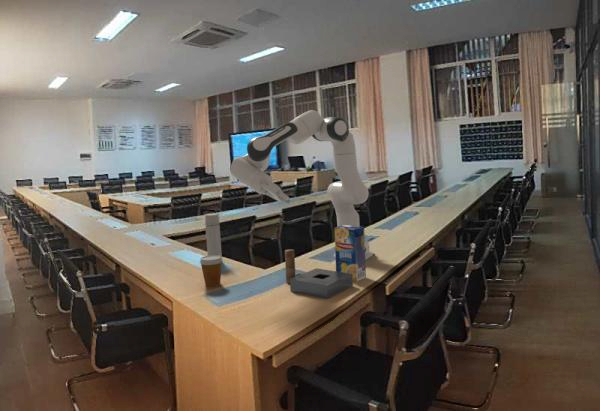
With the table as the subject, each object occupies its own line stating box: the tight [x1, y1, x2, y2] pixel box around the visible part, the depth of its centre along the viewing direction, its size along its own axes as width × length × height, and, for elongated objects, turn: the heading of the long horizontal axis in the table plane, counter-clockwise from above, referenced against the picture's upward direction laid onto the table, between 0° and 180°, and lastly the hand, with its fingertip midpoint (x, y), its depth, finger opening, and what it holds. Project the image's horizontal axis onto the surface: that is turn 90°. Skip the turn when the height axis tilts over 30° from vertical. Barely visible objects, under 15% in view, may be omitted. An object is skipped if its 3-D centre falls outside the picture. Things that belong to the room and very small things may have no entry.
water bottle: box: [203, 213, 223, 259], centre depth 231 cm, size 9×8×25 cm
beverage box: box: [334, 225, 367, 282], centre depth 192 cm, size 7×11×22 cm, turn 46°
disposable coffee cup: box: [199, 255, 223, 288], centre depth 191 cm, size 10×10×12 cm
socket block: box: [289, 267, 354, 300], centre depth 179 cm, size 18×18×5 cm
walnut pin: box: [284, 249, 297, 285], centre depth 189 cm, size 4×4×14 cm
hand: (289, 200), depth 191 cm, fingers open, 8 cm apart
